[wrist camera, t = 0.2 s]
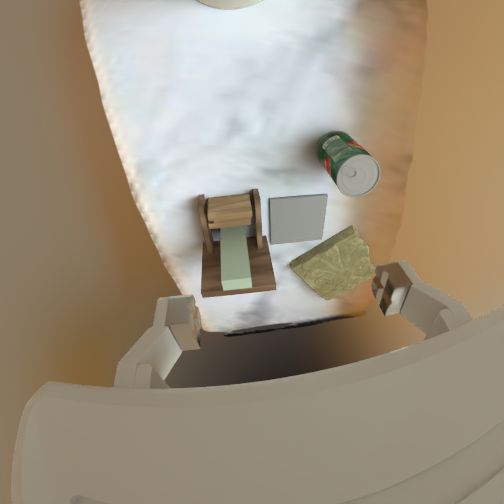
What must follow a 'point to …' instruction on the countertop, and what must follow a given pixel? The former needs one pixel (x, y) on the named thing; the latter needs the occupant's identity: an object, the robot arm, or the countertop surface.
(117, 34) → the countertop surface
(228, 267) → the pale green block
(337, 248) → the decorative tile
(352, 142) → the canned tomato
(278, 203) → the grey mat
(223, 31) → the countertop surface
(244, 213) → the offcut stack
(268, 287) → the walnut rack
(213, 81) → the countertop surface
